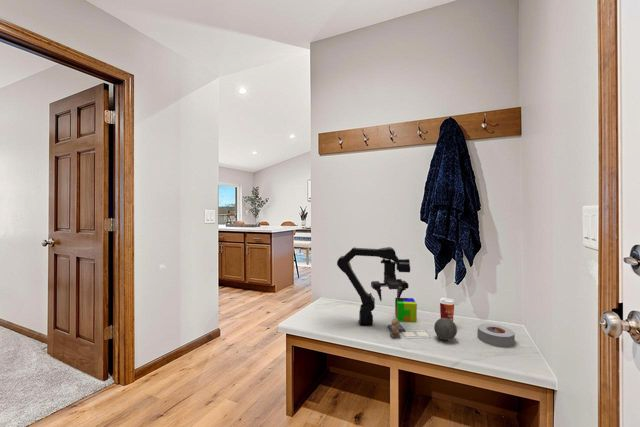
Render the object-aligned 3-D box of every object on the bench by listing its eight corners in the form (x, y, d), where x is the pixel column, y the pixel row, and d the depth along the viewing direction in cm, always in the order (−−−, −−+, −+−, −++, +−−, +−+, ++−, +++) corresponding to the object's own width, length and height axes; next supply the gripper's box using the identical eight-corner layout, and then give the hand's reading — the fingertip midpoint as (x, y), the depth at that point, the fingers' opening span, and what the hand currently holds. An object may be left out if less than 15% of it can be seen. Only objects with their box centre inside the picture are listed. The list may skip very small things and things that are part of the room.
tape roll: (493, 331, 157) (493, 321, 157) (522, 344, 143) (522, 333, 143) (470, 335, 152) (470, 325, 152) (497, 350, 138) (498, 338, 137)
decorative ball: (436, 343, 144) (436, 322, 143) (432, 334, 154) (432, 314, 153) (459, 344, 142) (459, 323, 142) (453, 335, 152) (454, 315, 152)
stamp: (392, 338, 148) (392, 320, 148) (390, 335, 152) (390, 317, 152) (400, 338, 148) (400, 320, 148) (398, 335, 152) (398, 317, 152)
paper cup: (447, 330, 158) (448, 303, 157) (435, 324, 165) (436, 298, 164) (458, 327, 162) (458, 300, 161) (445, 322, 169) (446, 296, 168)
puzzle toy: (412, 315, 179) (413, 298, 178) (416, 322, 169) (416, 304, 168) (395, 314, 180) (395, 297, 179) (397, 321, 170) (397, 303, 169)
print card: (405, 338, 149) (405, 337, 149) (400, 331, 157) (400, 330, 157) (432, 337, 150) (432, 337, 150) (425, 330, 157) (425, 330, 157)
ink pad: (391, 332, 155) (391, 329, 155) (387, 327, 162) (387, 324, 162) (405, 332, 155) (405, 329, 155) (400, 326, 162) (400, 323, 162)
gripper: (375, 275, 155) (375, 306, 155) (412, 275, 156) (412, 305, 156) (370, 270, 166) (370, 299, 166) (405, 270, 167) (404, 298, 167)
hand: (389, 300), depth 164 cm, fingers open, 9 cm apart
